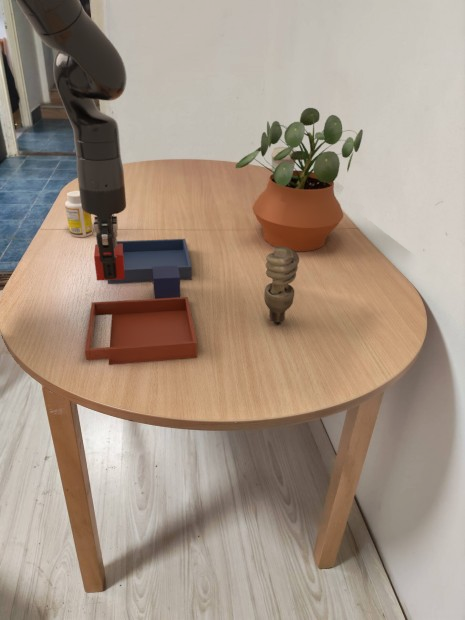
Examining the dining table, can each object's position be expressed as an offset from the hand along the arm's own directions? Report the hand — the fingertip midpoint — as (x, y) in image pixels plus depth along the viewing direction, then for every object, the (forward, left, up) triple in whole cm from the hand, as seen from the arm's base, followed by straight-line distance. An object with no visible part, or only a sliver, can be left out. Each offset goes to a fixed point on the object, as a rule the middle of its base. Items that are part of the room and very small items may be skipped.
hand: (110, 270), depth 86 cm
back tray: (+7, +12, -5) cm, 15 cm away
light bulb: (+29, -13, -6) cm, 33 cm away
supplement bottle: (-9, +31, -6) cm, 33 cm away
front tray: (+5, -14, -5) cm, 16 cm away
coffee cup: (+52, +65, -6) cm, 83 cm away
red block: (0, 0, -1) cm, 1 cm away
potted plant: (+41, +23, -6) cm, 47 cm away
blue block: (+10, -1, -5) cm, 12 cm away
